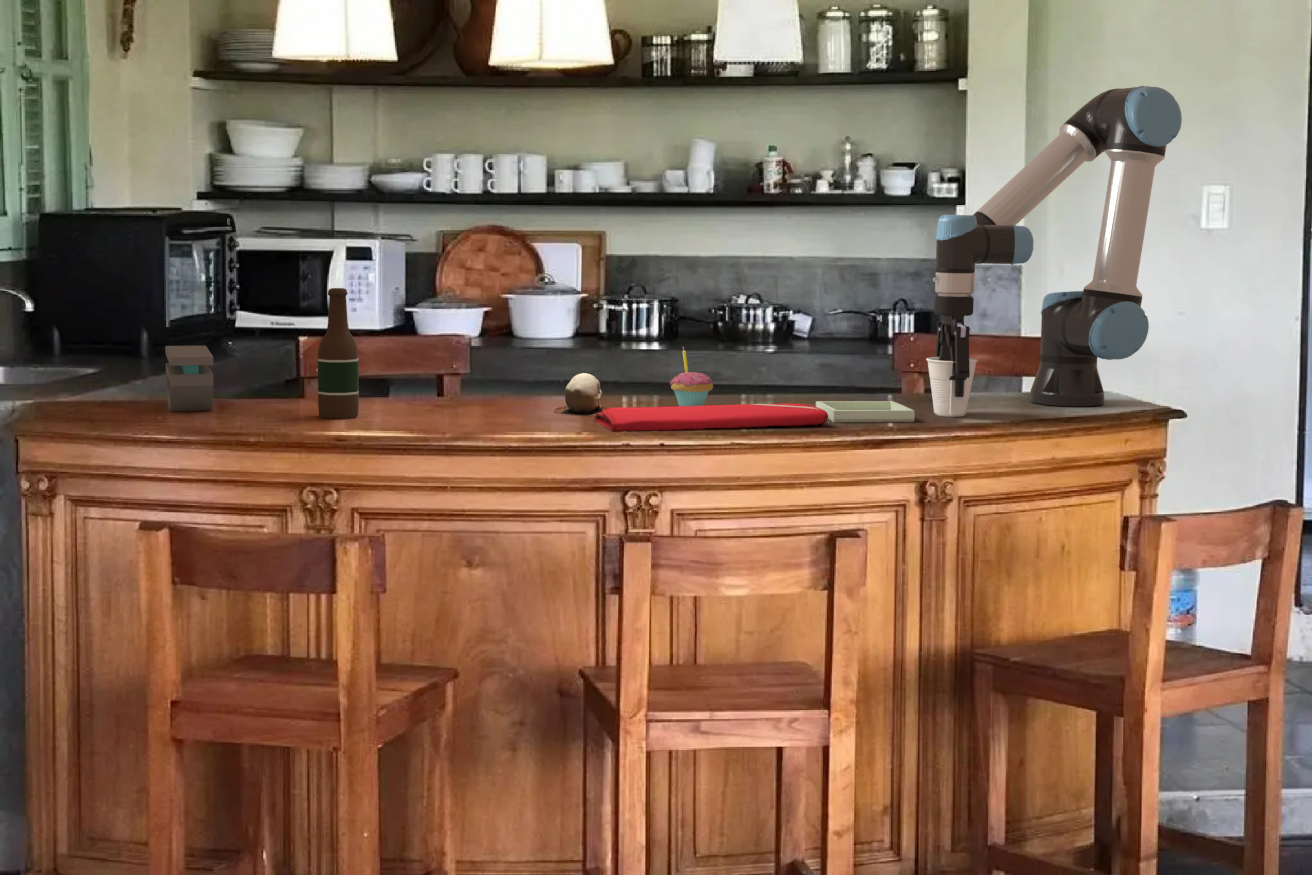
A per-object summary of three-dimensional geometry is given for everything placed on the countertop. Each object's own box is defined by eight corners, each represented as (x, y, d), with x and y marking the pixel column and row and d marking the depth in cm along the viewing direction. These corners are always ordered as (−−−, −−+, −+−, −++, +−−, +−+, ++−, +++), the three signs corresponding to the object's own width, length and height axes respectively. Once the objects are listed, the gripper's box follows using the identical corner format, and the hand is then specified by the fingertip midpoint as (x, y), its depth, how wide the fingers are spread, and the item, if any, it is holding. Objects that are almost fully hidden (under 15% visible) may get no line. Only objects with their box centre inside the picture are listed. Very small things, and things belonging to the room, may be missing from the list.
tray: (892, 412, 368) (893, 401, 367) (914, 422, 352) (914, 410, 352) (815, 412, 366) (815, 401, 365) (833, 422, 350) (833, 410, 350)
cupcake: (663, 408, 369) (664, 347, 368) (679, 403, 377) (680, 344, 376) (704, 410, 366) (705, 349, 365) (719, 406, 374) (720, 346, 372)
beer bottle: (367, 415, 351) (366, 288, 348) (347, 420, 344) (346, 290, 341) (330, 413, 354) (329, 286, 350) (309, 418, 346) (308, 288, 343)
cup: (974, 419, 359) (976, 362, 357) (922, 417, 361) (924, 360, 359) (976, 413, 368) (978, 357, 367) (926, 411, 370) (927, 356, 369)
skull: (562, 401, 370) (596, 365, 367) (597, 438, 368) (631, 402, 365) (539, 406, 358) (573, 368, 355) (575, 444, 356) (610, 406, 354)
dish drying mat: (593, 423, 348) (594, 403, 348) (802, 419, 358) (803, 400, 358) (612, 434, 333) (612, 413, 333) (829, 430, 343) (829, 410, 343)
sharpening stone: (214, 414, 350) (213, 356, 348) (171, 415, 348) (170, 357, 346) (206, 399, 374) (205, 345, 372) (166, 400, 371) (165, 346, 370)
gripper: (920, 291, 371) (916, 404, 374) (951, 297, 350) (947, 417, 353) (957, 291, 372) (953, 404, 375) (989, 298, 351) (985, 417, 354)
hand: (950, 410), depth 364 cm, fingers closed on cup, 8 cm apart
